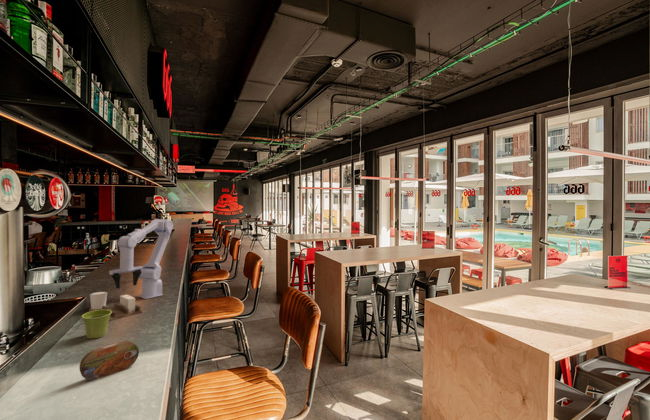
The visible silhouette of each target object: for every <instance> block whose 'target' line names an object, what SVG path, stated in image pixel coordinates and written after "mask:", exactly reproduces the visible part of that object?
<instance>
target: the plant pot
mask: <svg viewBox="0 0 650 420" xmlns="http://www.w3.org/2000/svg"><path fill="white" fill-rule="evenodd" d="M111 313H112V311H111V310H102V309H96V310H95V311H91V312H89V311H88V312H86V313H83V314H82V315H81V318H82V321H83V322H84V326H85V328H84V329H85V334H86V338H87V339H90V340H93V339H99V338H102V337H104V336H106V334H107V331H108V327H109V326H108V325H109V322H110V321H109V317H110V314H111Z"/></svg>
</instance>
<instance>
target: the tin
mask: <svg viewBox="0 0 650 420" xmlns="http://www.w3.org/2000/svg"><path fill="white" fill-rule="evenodd" d="M139 354H140V351H139V347H138V345H137V344H135V343H134V342H132V341H129V340H122V341H119V342H116V343H113V344H109V345H106V346H103V347H99V348H95V349H93V350H91V351H89V352H88V353H86V354H85V355H84V356H83V357H82V359H81V360H80V362H79V366H78V367H79V372H80V374H81V376H82V378H83V379H85V380H88V381H95V380H96V381H97V380H98V379H101V378H105V377H107V376H110V375H113V374H115V373H119V372H121V371H124V370H126V369H128V368H130V367H132V366H133V365H134V364H135V362H136V361H137V360H138V357H139Z"/></svg>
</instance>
